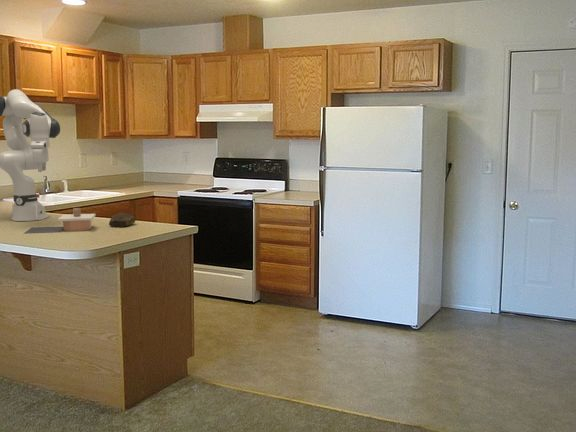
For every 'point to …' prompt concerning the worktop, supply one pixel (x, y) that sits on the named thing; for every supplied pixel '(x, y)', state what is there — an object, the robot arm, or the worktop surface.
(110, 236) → the worktop surface
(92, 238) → the worktop surface
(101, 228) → the worktop surface
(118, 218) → the stone
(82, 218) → the white square lid
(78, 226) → the bowl
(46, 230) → the mat
